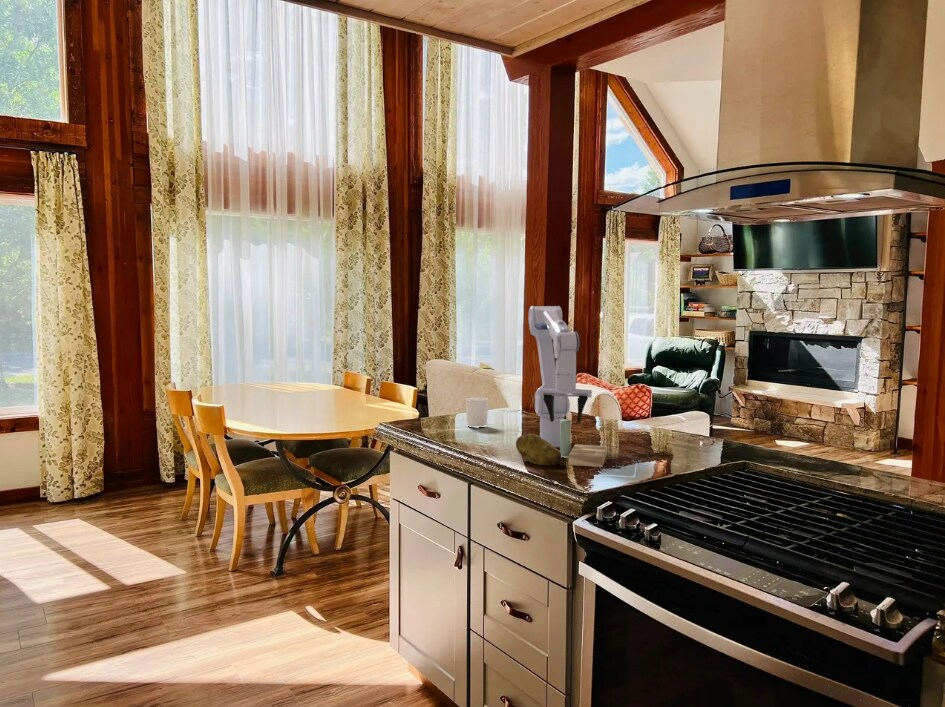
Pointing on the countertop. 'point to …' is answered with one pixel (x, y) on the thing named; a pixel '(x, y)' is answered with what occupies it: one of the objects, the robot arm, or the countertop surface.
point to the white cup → (477, 411)
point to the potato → (537, 450)
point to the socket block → (587, 455)
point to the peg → (565, 437)
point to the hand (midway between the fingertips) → (565, 421)
